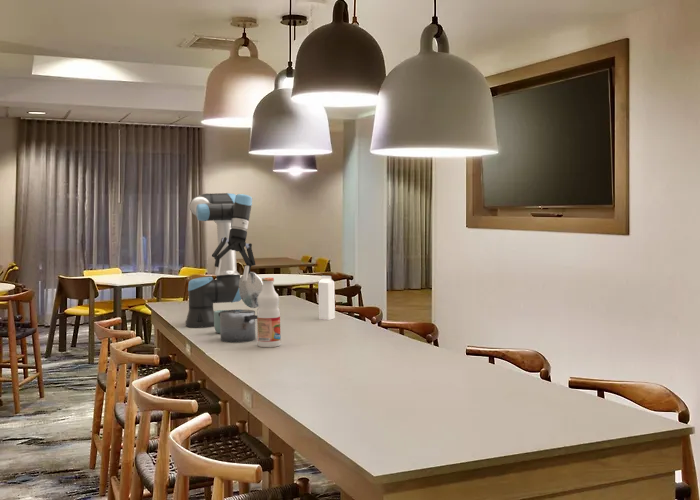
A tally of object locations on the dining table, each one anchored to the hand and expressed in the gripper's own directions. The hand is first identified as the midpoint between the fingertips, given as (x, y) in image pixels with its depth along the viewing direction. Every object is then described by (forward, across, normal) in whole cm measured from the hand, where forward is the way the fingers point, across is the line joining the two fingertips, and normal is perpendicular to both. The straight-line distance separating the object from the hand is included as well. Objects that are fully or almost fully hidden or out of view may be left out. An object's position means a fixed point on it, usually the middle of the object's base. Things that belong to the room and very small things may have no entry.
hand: (231, 277), depth 329 cm
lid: (+3, +11, +2) cm, 12 cm away
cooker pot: (+25, +9, +2) cm, 27 cm away
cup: (+23, +12, +22) cm, 34 cm away
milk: (+8, +70, +25) cm, 75 cm away
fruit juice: (+27, +12, -20) cm, 35 cm away
